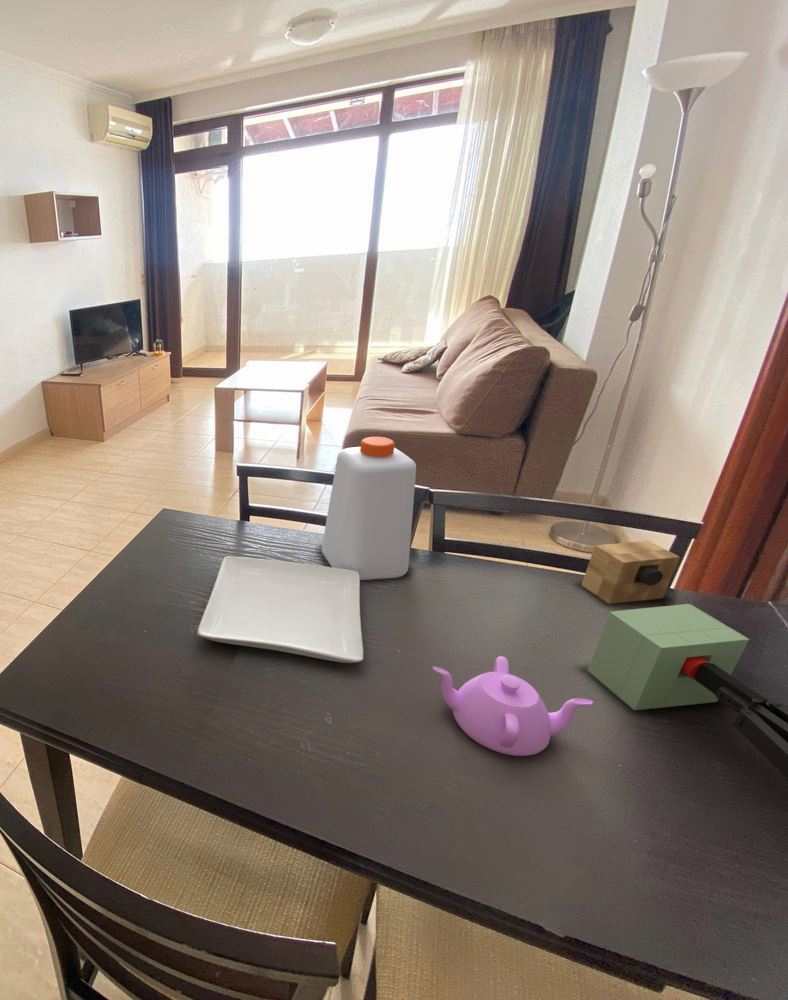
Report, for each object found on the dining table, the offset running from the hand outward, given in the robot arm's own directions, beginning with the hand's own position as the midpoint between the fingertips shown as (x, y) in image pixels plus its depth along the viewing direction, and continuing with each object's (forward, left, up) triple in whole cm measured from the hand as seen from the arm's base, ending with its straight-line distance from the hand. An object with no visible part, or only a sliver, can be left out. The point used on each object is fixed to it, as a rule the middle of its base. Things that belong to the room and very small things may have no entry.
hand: (703, 671), depth 72 cm
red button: (+1, -1, -2) cm, 2 cm away
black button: (-2, -28, -3) cm, 28 cm away
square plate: (+56, -3, -8) cm, 57 cm away
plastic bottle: (+44, -27, -8) cm, 52 cm away
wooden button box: (0, -31, -8) cm, 32 cm away
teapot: (+23, +12, -8) cm, 27 cm away
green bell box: (+3, -4, -8) cm, 10 cm away
